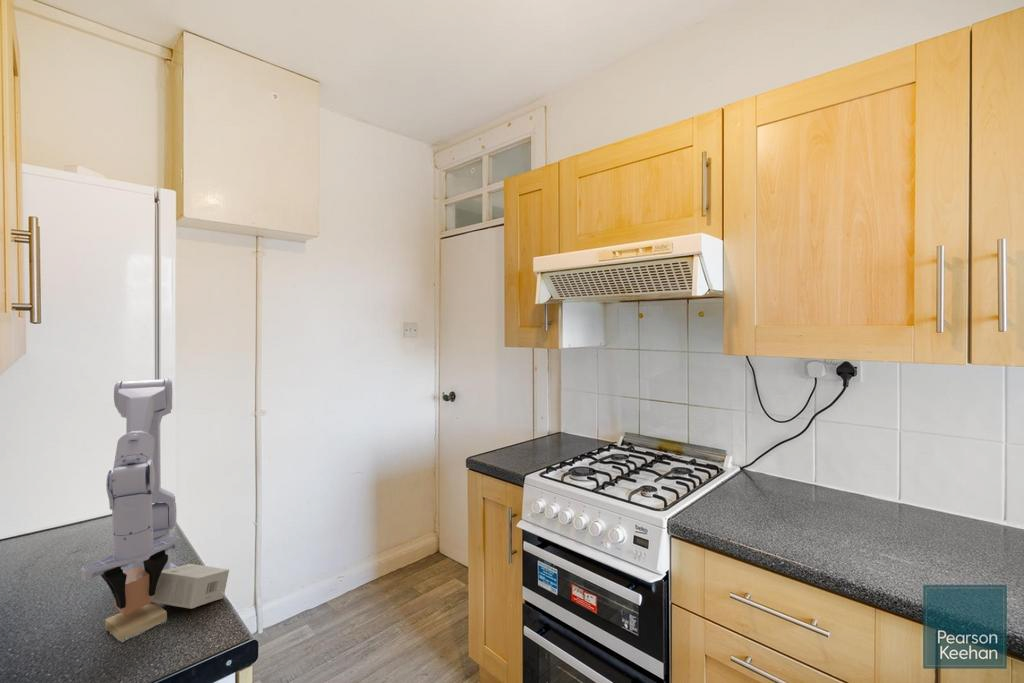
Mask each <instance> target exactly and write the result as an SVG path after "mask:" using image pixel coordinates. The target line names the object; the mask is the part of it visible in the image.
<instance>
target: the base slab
mask: <svg viewBox="0 0 1024 683" xmlns="http://www.w3.org/2000/svg"><path fill="white" fill-rule="evenodd" d="M166 619H167V620H168V612H167V610H165V609H164V608H162V607H161V606H159V605H158V603H153V602H150V604H148V605H145V606H143V607H141V608H139V609H137V610H135V611H132V612H130V613H128V614H126V615H123V614H122V613H121V612H119V613H117V614H114V615H113V616H112V615H111V616H110V617H107V618H105V620H104V624H105V627H104V628H105V630H106V629H107V630H108V631H109V632H111V633H112V634H113V635H114V636H115V637H117V638H118V639H119V640H121V641H122V640H124V639H126V638H128V637H131V636H133V635H135V634H137V633H139V632H141V631H143V630H145V629H148V628H150V627H152V626H154V625H156V624H158V623H160V622H162V621H164V620H166Z"/></svg>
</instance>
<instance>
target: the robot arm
mask: <svg viewBox="0 0 1024 683" xmlns="http://www.w3.org/2000/svg"><path fill="white" fill-rule="evenodd" d="M113 403H114V407H115V408H116V410H117V412H118V414H119V415H120V416H121V418H125V419H126V427H125V428H126V431H125V432H126V433H125V434H123V435H122V436H121V437H120V438H118V440H117V444H116V449H115V450H116V451H115V457H114V462H113V467H112V468H113V469H112V470H108V472H107V475H106V484H105V485H106V493H107V497H108V502H109V510H110V511H112V512H111V514H112V516H111V518H112V521H111V522H112V541H113V542H112V544H113V545H112V547H113V554H110V555H109V556H106V557H104V558H102V559H100V560H97V561H96V562H93V563H91V564H89V565H85V566H83V567H81V568H80V578H81V580H82V581H83V582H85V583H87V582H90V581H92V580H94V578H96V577H99V576H100V577H101V578H102V579H103V580H104V582H105V583H106V585H107V586H108V588H109V589H110V591H111V594H112V596H113V597H114V598H115V601H116V606H117V607H119V608H120V609H122V608H125V607H126V597H125V583H126V577H127V575H126V574H125V573H124V572H127V571H129V570H132V569H135V568H137V567H141V568H142V569H143V570H145V571H146V572H147V573H148V574H149V596H153V595H155V590H156V586H157V583H158V580H159V577H160V574H161V572H162V570H166V569H170V568H175V567H179V566H177V565H176V564H174V563H172V561H171V550H172V549H174V550H177V549H180V548H181V547H182V542H181V537H180V536H177V535H173V536H170V530H174V528H175V527H176V525H177V503H176V496H175V494H174V493H173V492H171V491H169V490H166V489H164V488H162V487H161V446H160V444H161V443H160V442H161V441H160V440H161V438H160V436H161V435H160V434H161V433H160V431H161V430H160V425H161V423H162V422H161V421H162V419H163V417H164V416H167V415H169V414H171V413H172V410H173V382H172V380H171V379H170V378H164V379H163V378H162V379H161V378H160V379H159V378H158V379H147V380H146V379H144V380H128V381H127V380H124V381H123V380H118V381H117V382H116V383H115V384H114V388H113ZM122 568H124V569H122Z"/></svg>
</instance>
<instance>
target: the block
mask: <svg viewBox="0 0 1024 683" xmlns="http://www.w3.org/2000/svg"><path fill="white" fill-rule="evenodd" d="M124 573H125V574H126V575H127V577H126V583H125V597H126V607H125V608H122V609H120V608H119V607H117V606H116V601H115V598H114V599H113V600H114V607H115V608H116V609H117V610H118V611H119V613H122V614H123V615H126V614H128V613H130V612H132V611H135V610H137V609H139V608H141V607H143V606H145V605H148V604H150V599H149V574H148V573H147V572H146V571H145V570H143V569H142V568H141V567H137V568H135V569H132V570H129V571H127V572H124Z"/></svg>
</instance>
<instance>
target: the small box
mask: <svg viewBox="0 0 1024 683" xmlns="http://www.w3.org/2000/svg"><path fill="white" fill-rule="evenodd" d="M229 572H230V569H229V568H222V567H214V566H209V565H201V564H193V563H186V564H183V565H179V566H178V567H175V568H170V569H166V570H162V572H161V574H160V577H159V580H158V583H157V586H156V590H155V595H153V596H149V599H150V602H153V603H155V604H161V605H166V606H173V607H177V608H184V609H191V610H192V609H195V608H197V607H200V606H203V605H204V606H205V605H206V604H209V603H212V602H215V601H218V600H222V599H224V598H225V591H226V588H227V582H228V577H229ZM219 588H220V589H219ZM221 591H222V592H223V593H224V595H223V594H222V592H221ZM222 595H223V597H224V598H223V597H222Z"/></svg>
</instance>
